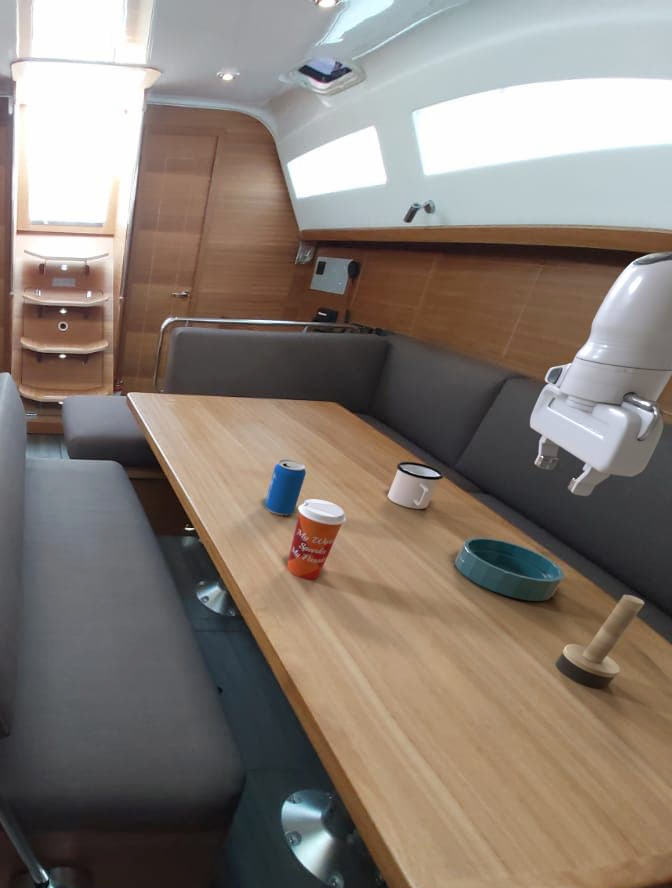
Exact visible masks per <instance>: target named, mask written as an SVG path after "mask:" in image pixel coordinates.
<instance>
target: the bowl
mask: <svg viewBox="0 0 672 888" xmlns="http://www.w3.org/2000/svg"><path fill="white" fill-rule="evenodd" d="M454 565H455V566H456V569H457V570H458V572H460V573H461V574H463V575H464V576H465V577H466V578H467V579H469V580H471V582H474V583H476V585H479V586H480V587H482V588H484V589H486V590H489V591H491V592H493V593H496V594H498V595H502V596H506V597H509V598H513V599H516V600H517V599H518V600H523V601H530V602H531V601H532V602H543V601H547V600H550V599H551V598H552V597H553V595H554V594H555V593H556V591H557V590H558V587H559V586H560V584H561V583H562V581H563V580H564V578H565V573H564V570H563V569H562V568H561V567H560V566H559V565H558V564H557V563H556V562H554V560H551V559H550V558H548V557H547V556H545V555H543V554H541V553H538V552H537V551H535V550H532V549H530V548H528V547H524V546H522V545H519V544H516V543H512V542H509V541H505V540H503V539H502V540H501V539H495V538H491V537H479V536H478V537H477V536H476V537H470V538H467V539H466V540H465V541H463V543H462V545H461V547H460V549H459V552H458V553H457V556H456V558H455V560H454Z"/></svg>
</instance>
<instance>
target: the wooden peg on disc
mask: <svg viewBox="0 0 672 888" xmlns="http://www.w3.org/2000/svg"><path fill="white" fill-rule="evenodd" d="M644 605H645V601H644V600H642V599H641V598H639V597H637V596H634V595H630V594H623V595H622V597H621V598H620V599H619V601H618V603H617V604H616V605H615V606H614V608H613V610H612V611H611V612H610V614H609V616H608V617H607V618H606V620H605V621H604V623H603V624H602V625H601V627H600V628H599V630H598V632H597V633H595V634H596V635H595V636H594V637H593V639H592V640H591V641H590V643H589V644H588V646H585V645H581V644H577V643H570V644H567V645H565V646H564V648H563V650H562V652H561V654H560V655H559V657H558V659H557V660H556V662H555V667H556V668H557V669H558V670H559V672H560V673H562V674H563V675H564V676H566V677H567V678H568V679H570V680H572V681H573V682H576V683H578V684H581V685H583V686H585V687H588V688H592V689H596V690H597V689H598V690H604V689H606V688H608V687H609V686H610V684H611V682H612V681H613V680H614V679H615V678H616V677H617V676H618V675H619V674H620V672H621V667H620V666H619V664H617V662H616V661H615V660H613V659H612V658H611V657H609V656H608V655H609V653H610V652H611V650H612V649H613V648H614V646H615V645H616V643H617V642H618V641H619V639H620V638H621V637H622V635H623V634H624V632H625V631H626V630H627V628H628V627H629V626H630V624H631V623H632V622H633V620H634V619H635V617H636V616H637V615H638V613H639V612H640V610H641V609H642V608H643V606H644Z"/></svg>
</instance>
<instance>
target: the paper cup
mask: <svg viewBox="0 0 672 888" xmlns="http://www.w3.org/2000/svg"><path fill="white" fill-rule="evenodd" d="M345 522H347V517H346V513H345V511H344V510H343V508H342V507H340V506H339V505H337V504H335V503H333V502H331V501H328V500H324V499H318V498H317V499H315V498H310V499H306V500H304V501H303V502H302V504H300V505H299V506H298V516H297V521H296V525H295V530H294V534H293V537H292V542H291V548H290V551H289V555H288V560H287V564H286V565H287V567H286V568H287V570H288V571H289V573H291V574H292V575H294V576H296V577H297V578H300V579H305V580H316V579H318V577H319V576H320V574H321V571H322V570H323V567H324V565H325V563H326V560H327V558H328V556H329V554H330V552H331V550H332V547H333V544H334V542H335V541H336V538H337V536H338V534H339V532H340V529H341V526H342V525H343V524H344V523H345Z"/></svg>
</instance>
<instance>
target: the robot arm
mask: <svg viewBox="0 0 672 888" xmlns="http://www.w3.org/2000/svg"><path fill="white" fill-rule="evenodd" d="M599 306H600V307H599V308H598V310H597V311H596V314H595V316H594V318H593V320H592V323H591V327H590V334H589V336H588V338H587V341H585V344H584V345H583V346H582V347H581V348H580V349H579V350H578V351H577V353H576V354H575V356H574V358H573V360H572V362H571V363H567V364H562V365H558V366H553V367H550V368H549V369H548V371H547V372H546V375H545V377H544V382H546V385H545V386H544V387H543V388H542V390H541V392H540V393H539V396H538V398H537V400H536V403H535V404H534V407H533V410H532V412H531V413H530V414H531V415H530V418H529V427H530V428H531V429H532V430H534V431H535V432H537V433H538V434H540V435H541V436H540V439H539V441H538V442H539V443H538V455H537V456H536V459H535V460H534V465H535V466H537V467H538V468H539V469H542V470H549V471H550V470H553V469H555V468H556V464H557V463H558V461H559V458H557V455H558V452H559V448H561V449H563V450H565V451H566V452H568V453H569V454H571V455H573V456H574V457H576V458H577V459H579V460H580V461H582V462H583V463H585V464H584V466H583V467H582V471H583V472H582V473H581V474H580V475H579V476H578V477H577V478H574V477H573V478H571V480H570V482H569V484H568V485H567V490H568V491H569V492H571V493H572V494H573V495H575V496H581V497H588V496H589V495H591V494H592V492H593V490H594V489H595V487H596V486H597V485H599V484H600V483H602V482H603V481H605V480H606V479H608V478H609V477H610V476H611V475H612V476H613V475H614V476H620V477H635V476H637V475H639V474H640V473H642V472H643V471H644V470H645V469H646V467H647V465H648V464H649V462H650V460H651V457H652V455H653V453H654V451H655V449H656V447H657V445H658V443H659V441H660V438H661V436H662V433H663V429H664V421H663V419H662V417H663V414H661V410H660V406H661V405H660V404H659V403H658V402H657V400H658V399H659V397H660V396H661V394H662V392H663V390H664V389H665V387H666V385H667V384H668V382H669V380H670V379H671V377H672V250H666V251H659V252H653V253H649V254H646V255H644V256H642V257H641V256H640V257H638V258H636V259H634V260H633V261H632V262H631V263H630V264H629V265H627V266H626V268H624V269H623V271H622V272H621V273H620V274H619V275H618V277H617V278H616V280H615V281H614V283H613V284H612V286H611V287H610V289H609V290H608V292H607V294H606V295H605V297H604V299H603V301H602V303H601V304H600V305H599Z"/></svg>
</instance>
